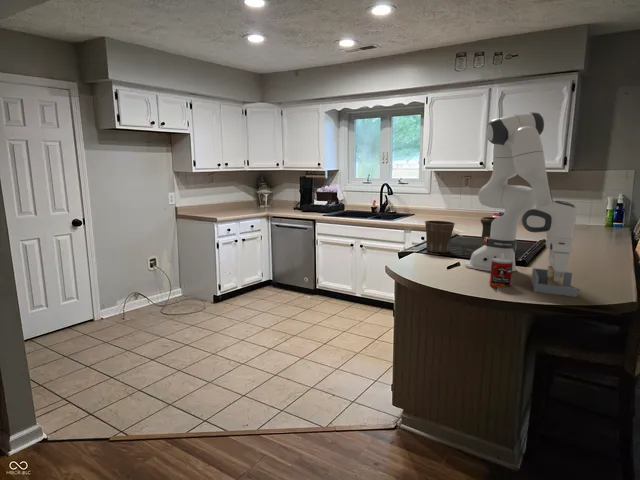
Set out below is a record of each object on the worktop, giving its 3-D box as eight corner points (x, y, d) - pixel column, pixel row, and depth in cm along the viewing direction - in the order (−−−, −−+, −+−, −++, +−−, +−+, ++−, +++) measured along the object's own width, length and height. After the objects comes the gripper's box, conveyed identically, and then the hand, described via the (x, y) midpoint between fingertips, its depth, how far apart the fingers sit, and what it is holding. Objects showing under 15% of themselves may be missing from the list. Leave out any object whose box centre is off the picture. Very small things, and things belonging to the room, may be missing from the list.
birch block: (547, 286, 165) (549, 268, 163) (546, 282, 169) (548, 265, 168) (562, 287, 163) (564, 269, 161) (560, 284, 167) (562, 267, 166)
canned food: (489, 288, 168) (492, 260, 166) (489, 282, 175) (491, 256, 173) (510, 290, 165) (513, 262, 163) (509, 285, 173) (512, 258, 171)
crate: (533, 294, 161) (535, 277, 160) (531, 283, 176) (532, 268, 175) (576, 299, 156) (578, 282, 155) (569, 287, 171) (571, 272, 170)
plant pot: (429, 246, 249) (431, 219, 246) (456, 250, 240) (459, 222, 237) (418, 251, 236) (420, 222, 233) (446, 255, 227) (449, 225, 224)
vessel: (500, 258, 222) (503, 220, 218) (474, 254, 231) (476, 217, 228) (510, 254, 232) (513, 218, 229) (484, 251, 242) (487, 216, 238)
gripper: (546, 238, 173) (542, 271, 176) (553, 247, 155) (548, 284, 157) (564, 240, 171) (560, 273, 174) (573, 249, 153) (568, 286, 155)
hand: (554, 278), depth 165 cm, fingers closed on birch block, 5 cm apart
